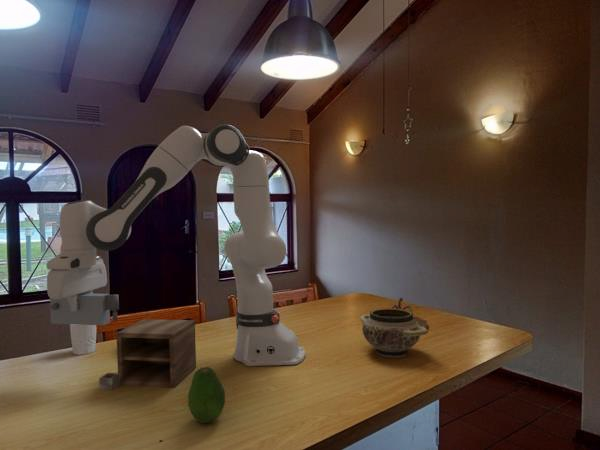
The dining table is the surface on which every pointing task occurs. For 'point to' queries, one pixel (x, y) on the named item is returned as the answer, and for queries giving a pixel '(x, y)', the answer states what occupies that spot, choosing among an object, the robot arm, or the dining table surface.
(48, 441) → the dining table surface
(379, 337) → the ceramic bowl
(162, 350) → the cabinet
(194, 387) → the avocado
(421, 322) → the plant
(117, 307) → the grey box
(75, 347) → the white cup
